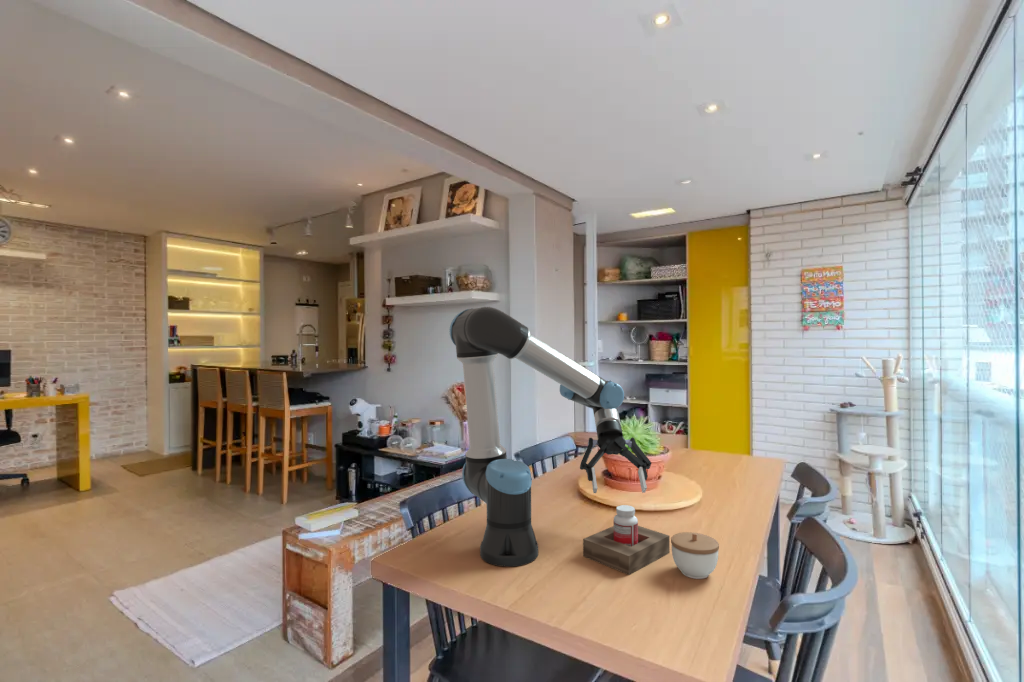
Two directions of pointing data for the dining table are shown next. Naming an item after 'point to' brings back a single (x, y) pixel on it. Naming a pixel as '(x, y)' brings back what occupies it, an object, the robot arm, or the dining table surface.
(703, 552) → the lidded jar
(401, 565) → the dining table surface
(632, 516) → the pill bottle
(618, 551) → the socket block
